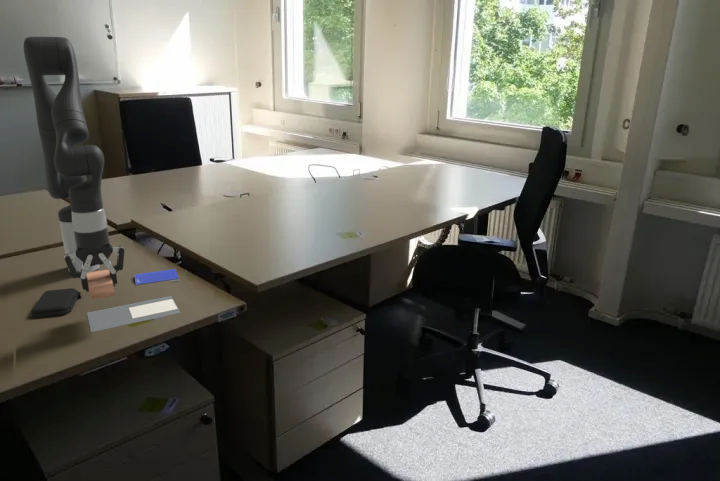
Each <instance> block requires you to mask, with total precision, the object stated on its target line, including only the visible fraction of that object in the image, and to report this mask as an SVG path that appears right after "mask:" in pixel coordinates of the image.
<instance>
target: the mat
mask: <svg viewBox="0 0 720 481" xmlns="http://www.w3.org/2000/svg"><path fill="white" fill-rule="evenodd" d="M181 313H182V312H181V311H180V309H179V307H178V305H177V303H176V301H175V299H174V298H173V296H172V295H168V296H164V297H160V298H159V297H158V298H153V299H148V300H143V301H138V302H134V303H130V304H124V305H119V306H114V307H110V308H105V309H104V308H103V309H100V310H99V309H98V310H94V311H88V312H86V315H87V319H88V324H89V329H90V333H96V332H100V331H105V330H109V329H113V328H118V327H122V326H127V325H130V324H131V325H132V324H135V323H136V324H137V323H140V322H145V321H150V320H155V319H159V318H163V317H167V316H169V317H170V316H173V315H178V314H181Z"/></svg>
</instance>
